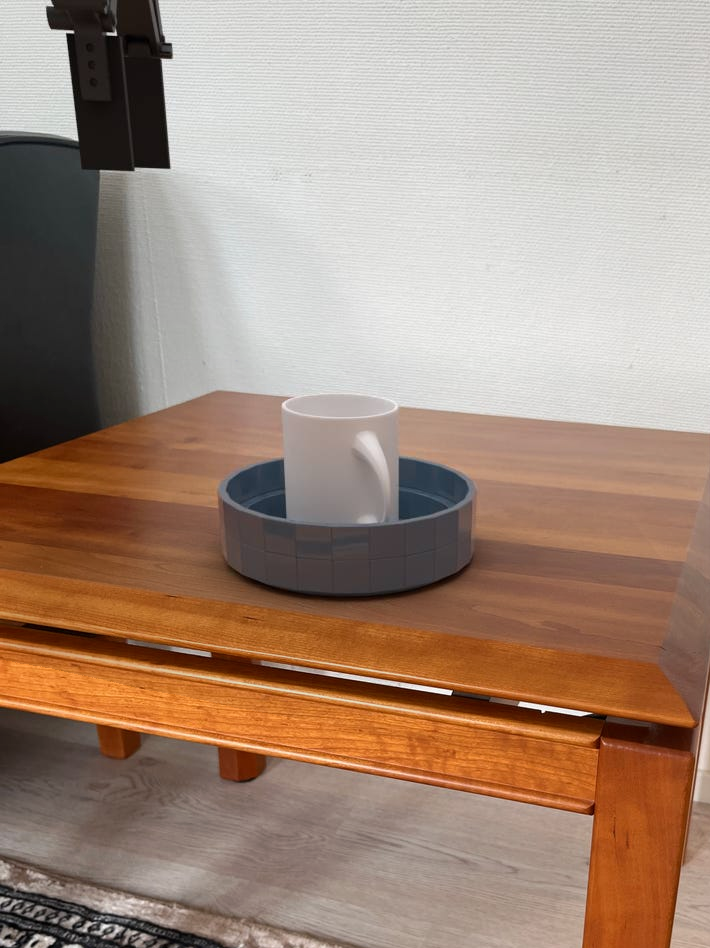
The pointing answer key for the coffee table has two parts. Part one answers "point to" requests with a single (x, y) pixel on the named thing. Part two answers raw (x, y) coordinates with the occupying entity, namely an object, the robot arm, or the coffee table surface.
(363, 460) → the mug
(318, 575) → the bowl
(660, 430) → the coffee table surface
